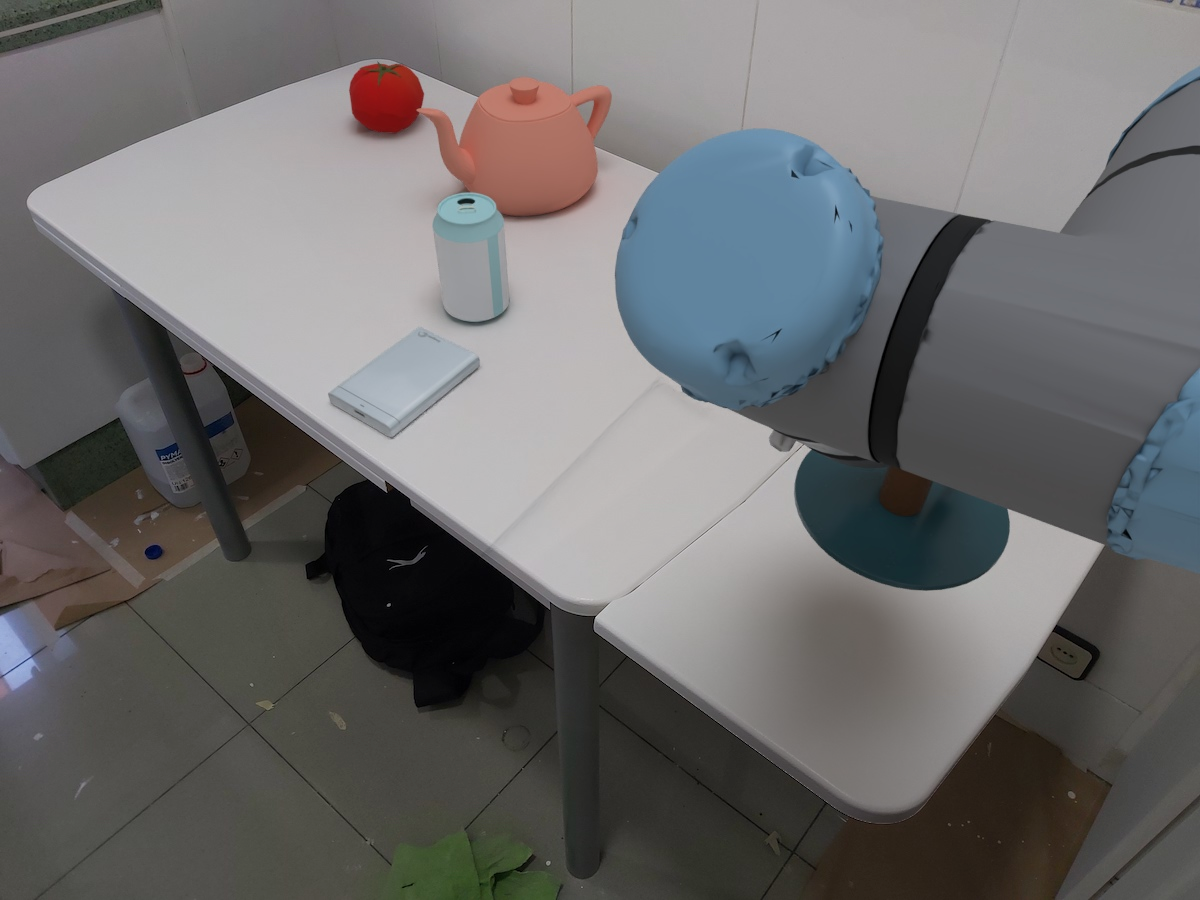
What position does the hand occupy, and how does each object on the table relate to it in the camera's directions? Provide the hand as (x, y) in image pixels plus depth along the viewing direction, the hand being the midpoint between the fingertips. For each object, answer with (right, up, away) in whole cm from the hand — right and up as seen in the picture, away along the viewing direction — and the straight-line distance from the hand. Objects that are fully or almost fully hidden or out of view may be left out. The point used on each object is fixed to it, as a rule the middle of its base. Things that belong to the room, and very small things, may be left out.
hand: (940, 446), depth 57 cm
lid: (-3, -4, 0) cm, 5 cm away
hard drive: (-41, +6, +29) cm, 51 cm away
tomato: (-51, +45, +66) cm, 95 cm away
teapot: (-32, +33, +55) cm, 72 cm away
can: (-35, +15, +38) cm, 54 cm away
